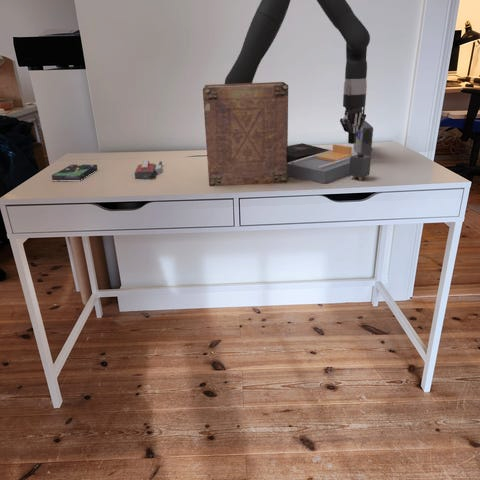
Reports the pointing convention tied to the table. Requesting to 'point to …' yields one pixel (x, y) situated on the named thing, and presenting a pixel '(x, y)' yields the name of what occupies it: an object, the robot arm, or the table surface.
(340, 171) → the socket block
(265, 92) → the book
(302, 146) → the portable cd player
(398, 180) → the table surface
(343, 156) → the shutter
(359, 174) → the plug
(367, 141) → the electronic device
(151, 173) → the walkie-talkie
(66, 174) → the disk drive
